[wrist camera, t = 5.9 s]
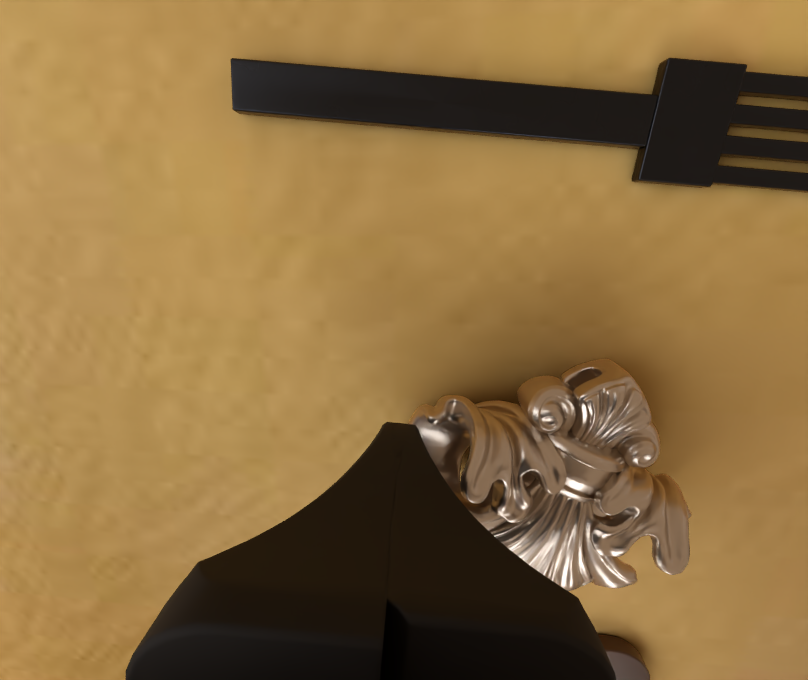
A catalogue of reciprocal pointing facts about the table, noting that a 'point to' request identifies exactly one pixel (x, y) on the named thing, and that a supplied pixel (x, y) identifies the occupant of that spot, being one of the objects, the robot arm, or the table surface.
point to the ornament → (564, 474)
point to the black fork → (559, 113)
